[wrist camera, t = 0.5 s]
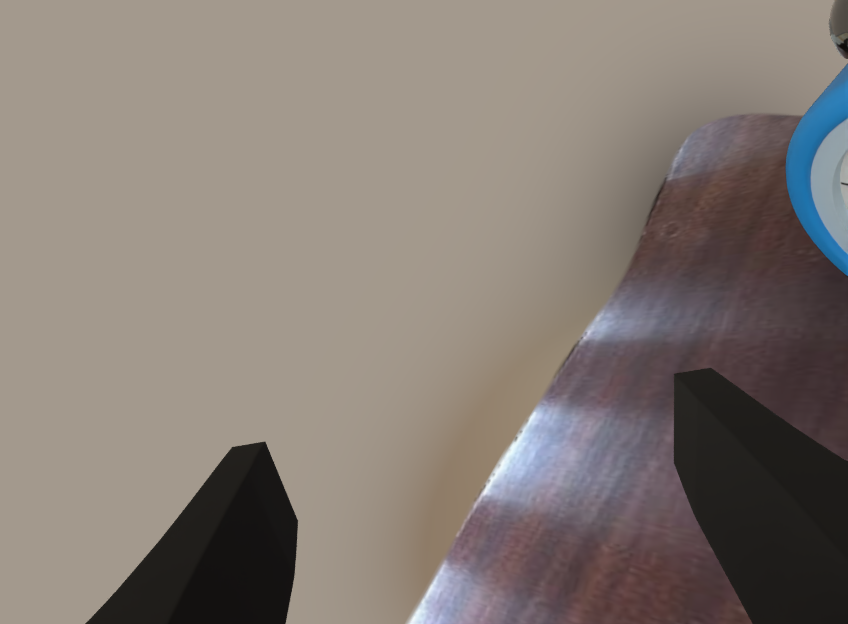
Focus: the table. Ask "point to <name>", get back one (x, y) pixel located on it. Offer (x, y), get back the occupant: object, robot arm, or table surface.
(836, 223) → the alarm clock
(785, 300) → the table surface
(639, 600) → the table surface
